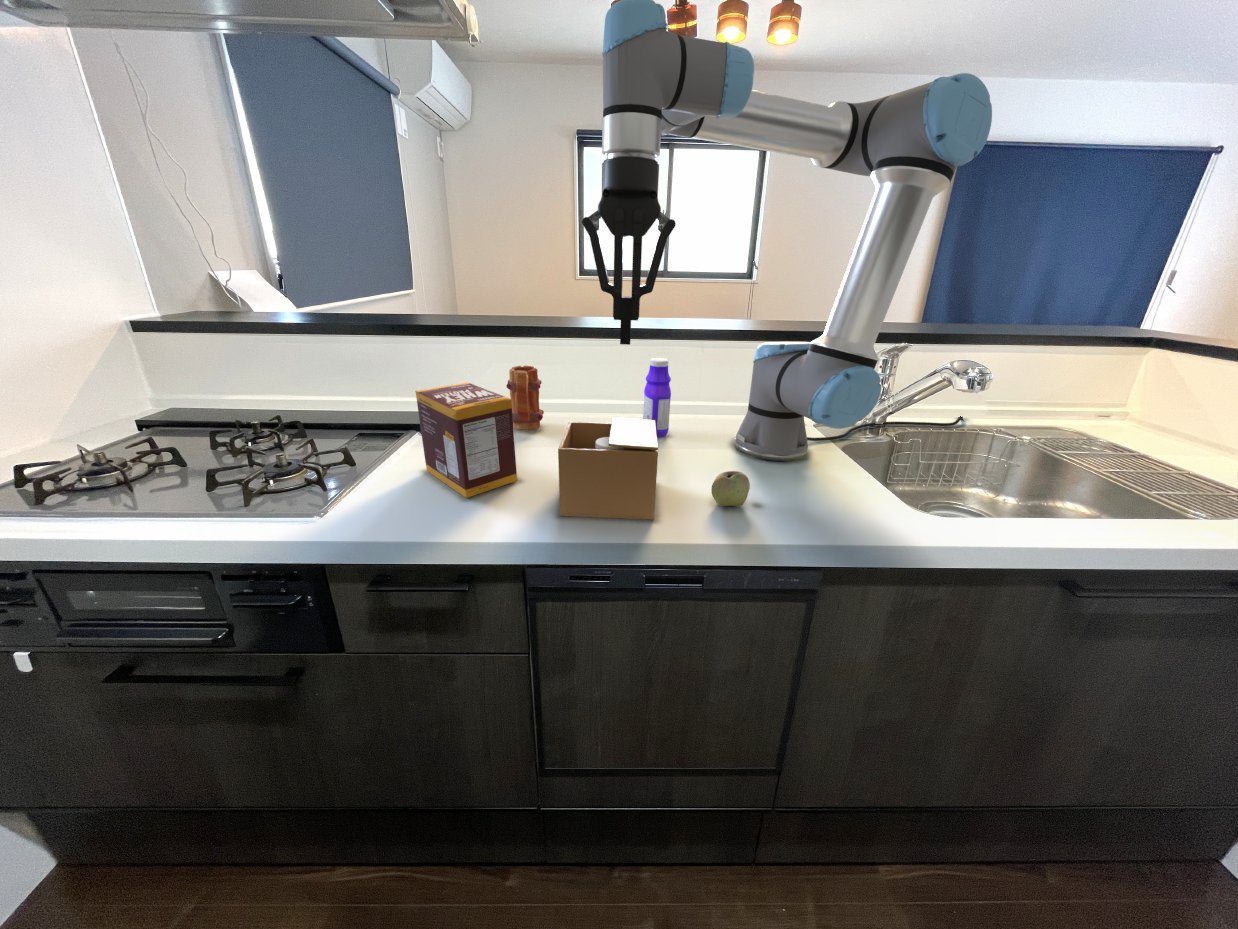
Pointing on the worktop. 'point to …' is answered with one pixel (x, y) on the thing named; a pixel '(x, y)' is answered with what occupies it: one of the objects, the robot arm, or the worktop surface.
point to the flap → (633, 433)
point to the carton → (604, 476)
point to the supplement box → (467, 437)
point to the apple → (730, 488)
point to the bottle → (658, 395)
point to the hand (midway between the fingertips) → (625, 342)
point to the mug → (525, 397)
